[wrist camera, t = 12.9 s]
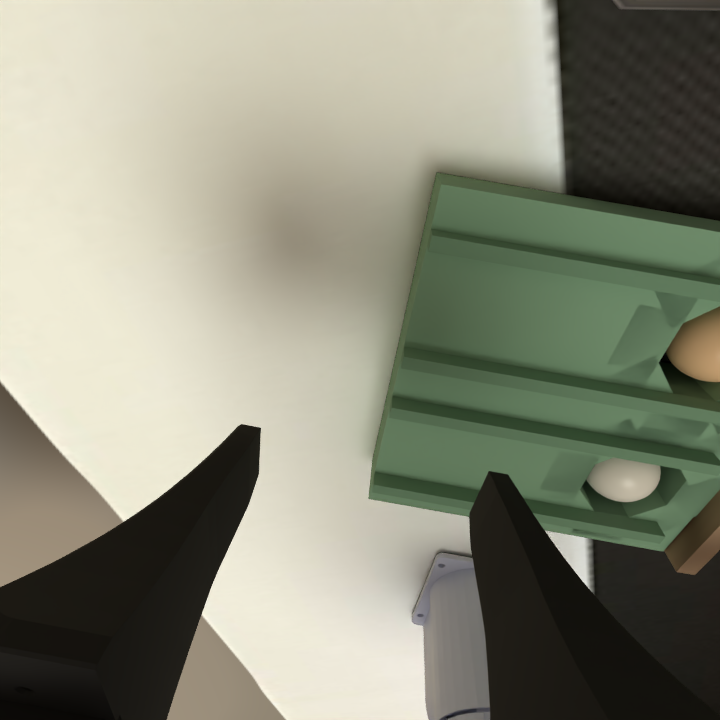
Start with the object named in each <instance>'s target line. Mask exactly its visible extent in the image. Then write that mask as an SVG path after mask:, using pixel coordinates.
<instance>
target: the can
mask: <svg viewBox="0 0 720 720" xmlns="http://www.w3.org/2000/svg"><path fill="white" fill-rule="evenodd" d="M612 1H613V3H614V4H615V5H616V6H617V7H618V9H628V10H699V11H720V0H612Z"/></svg>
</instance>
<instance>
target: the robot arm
mask: <svg viewBox="0 0 720 720" xmlns="http://www.w3.org/2000/svg"><path fill="white" fill-rule="evenodd" d="M260 433H261V428H259V427H253V426H248V425H243V424H241V425H239V426H238V427H237V428H236V429H235V430H234V431H233V432H232V433H231V434H230V435H229V436H228V437H227V438H226V439H225V440H224V441H223V442H222V443H221V444H220V445H219V446H218V447H217V448H216V449H215V450H214V451H213V452H212V453H211V454H210V455H209V456H208V457H207V458H206V459H204V460H203V461H202V462H201V463H200V464H199V465H198V466H197V467H196V468H195V469H193V470H192V471H191V472H190V473H189V474H188V475H186V476H185V477H184V478H183V479H182V480H180V481H179V482H178V483H177V484H175V485H174V486H173V487H172V488H171V489H169V490H168V491H167V492H166V493H164V494H163V495H162V496H160V497H159V498H158V499H156V500H155V501H154V502H152V503H151V504H149V505H148V506H147V507H145V508H144V509H142V510H141V511H139V512H138V513H137V514H135V515H134V516H132V517H130V518H129V519H127V520H126V521H124V522H123V523H121V524H120V525H118V526H117V527H115V528H113V529H112V530H110V531H109V532H107V533H105V534H104V535H102V536H100V537H99V538H97V539H95V540H93V541H91V542H90V543H88V544H86V545H84V546H82V547H81V548H79V549H77V550H75V551H73V552H72V553H70V554H68V555H66V556H65V557H62V558H61V559H59V560H57V561H55V562H53V563H51V564H49V565H47V566H45V567H42V568H40V569H38V570H36V571H34V572H32V573H30V574H28V575H26V576H24V577H21V578H19V579H17V580H15V581H13V582H11V583H9V584H6V585H4V586H2V587H0V720H166V719H167V716H168V713H169V710H170V707H171V703H172V700H173V697H174V694H175V691H176V688H177V685H178V682H179V679H180V676H181V673H182V670H183V667H184V664H185V661H186V657H187V655H188V651H189V649H190V646H191V643H192V640H193V637H194V634H195V631H196V629H197V626H198V622H199V620H200V617H201V614H202V611H203V609H204V606H205V603H206V600H207V597H208V595H209V592H210V589H211V586H212V584H213V581H214V579H215V577H216V574H217V572H218V570H219V567H220V565H221V563H222V561H223V559H224V557H225V554H226V552H227V550H228V548H229V546H230V544H231V542H232V539H233V537H234V535H235V533H236V531H237V529H238V526H239V524H240V522H241V520H242V518H243V516H244V513H245V511H246V509H247V507H248V504H249V502H250V499H251V496H252V493H253V490H254V487H255V484H256V481H257V478H258V475H259V457H260ZM469 519H470V542H471V551H472V557H473V558H470V557H464V556H458V555H453V554H447V553H439V554H437V556H436V558H435V560H434V562H433V565H432V567H431V570H430V572H429V575H428V577H427V580H426V582H425V585H424V587H423V590H422V592H421V595H420V597H419V600H418V602H417V605H416V607H415V610H414V612H413V615H412V622H413V623H414V624H416V625H422V626H423V629H424V665H425V701H426V710H427V715H428V719H429V720H720V716H719V715H718V714H717V713H716V712H714V711H713V710H712V709H711V708H710V707H709V706H707V705H706V704H705V703H704V702H703V701H702V700H700V699H699V698H698V697H697V696H696V695H694V694H693V693H692V692H691V691H690V690H689V689H687V688H686V687H685V686H684V685H683V684H682V683H681V682H679V681H678V680H677V679H676V678H675V677H674V676H673V675H672V674H671V673H670V672H669V671H668V670H666V669H665V668H664V667H663V666H662V665H661V664H660V663H659V662H658V661H657V660H656V659H655V658H654V657H652V656H651V655H650V654H649V653H648V652H647V651H646V650H645V649H644V648H643V647H642V646H641V645H640V644H639V643H638V642H637V641H636V640H635V639H634V638H633V637H632V636H631V635H630V634H629V633H628V632H627V630H626V629H625V628H624V627H623V626H622V625H621V624H620V623H619V622H618V621H617V620H616V619H615V618H614V617H613V616H612V615H611V614H610V613H609V611H608V610H607V609H606V608H605V607H604V606H603V605H602V604H601V603H600V601H599V600H598V599H597V598H596V597H595V596H594V594H593V593H592V592H591V591H590V590H589V589H588V587H587V586H586V585H585V584H584V583H583V581H582V580H581V579H580V578H579V576H578V575H577V574H576V573H575V571H574V570H573V569H572V568H571V566H570V565H569V564H568V562H567V561H566V560H565V558H564V557H563V556H562V554H561V553H560V552H559V550H558V549H557V548H556V546H555V545H554V543H553V542H552V541H551V539H550V538H549V536H548V535H547V533H546V532H545V530H544V529H543V527H542V526H541V525H540V523H539V522H538V520H537V519H536V517H535V516H534V514H533V512H532V511H531V509H530V508H529V506H528V505H527V503H526V502H525V500H524V498H523V497H522V495H521V494H520V492H519V491H518V489H517V487H516V486H515V484H514V483H513V481H512V480H511V478H510V477H509V475H508V474H503V473H498V472H492V471H489V472H488V474H487V476H486V478H485V480H484V482H483V485H482V487H481V489H480V491H479V493H478V496H477V498H476V500H475V502H474V504H473V506H472V509H471V511H470V513H469Z"/></svg>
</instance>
